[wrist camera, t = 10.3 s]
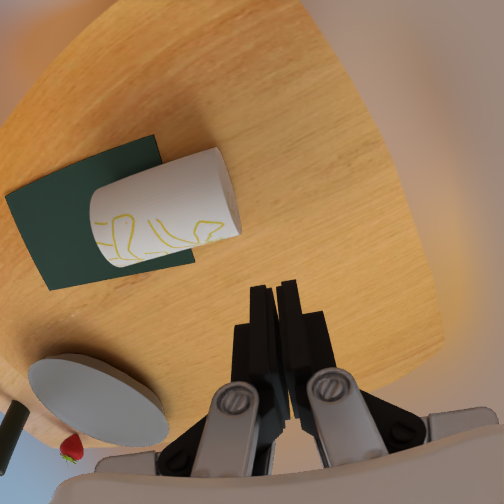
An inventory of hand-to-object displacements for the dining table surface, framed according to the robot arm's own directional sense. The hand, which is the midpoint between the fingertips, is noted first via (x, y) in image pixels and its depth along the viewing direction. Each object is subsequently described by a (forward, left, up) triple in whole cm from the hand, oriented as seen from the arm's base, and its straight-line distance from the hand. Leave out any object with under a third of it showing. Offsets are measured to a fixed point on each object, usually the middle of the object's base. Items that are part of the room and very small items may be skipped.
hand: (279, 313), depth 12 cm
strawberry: (+52, -58, -22) cm, 81 cm away
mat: (+2, -21, -22) cm, 31 cm away
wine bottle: (+42, -72, -22) cm, 86 cm away
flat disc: (+33, -37, -22) cm, 54 cm away
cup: (+1, -3, -18) cm, 18 cm away
